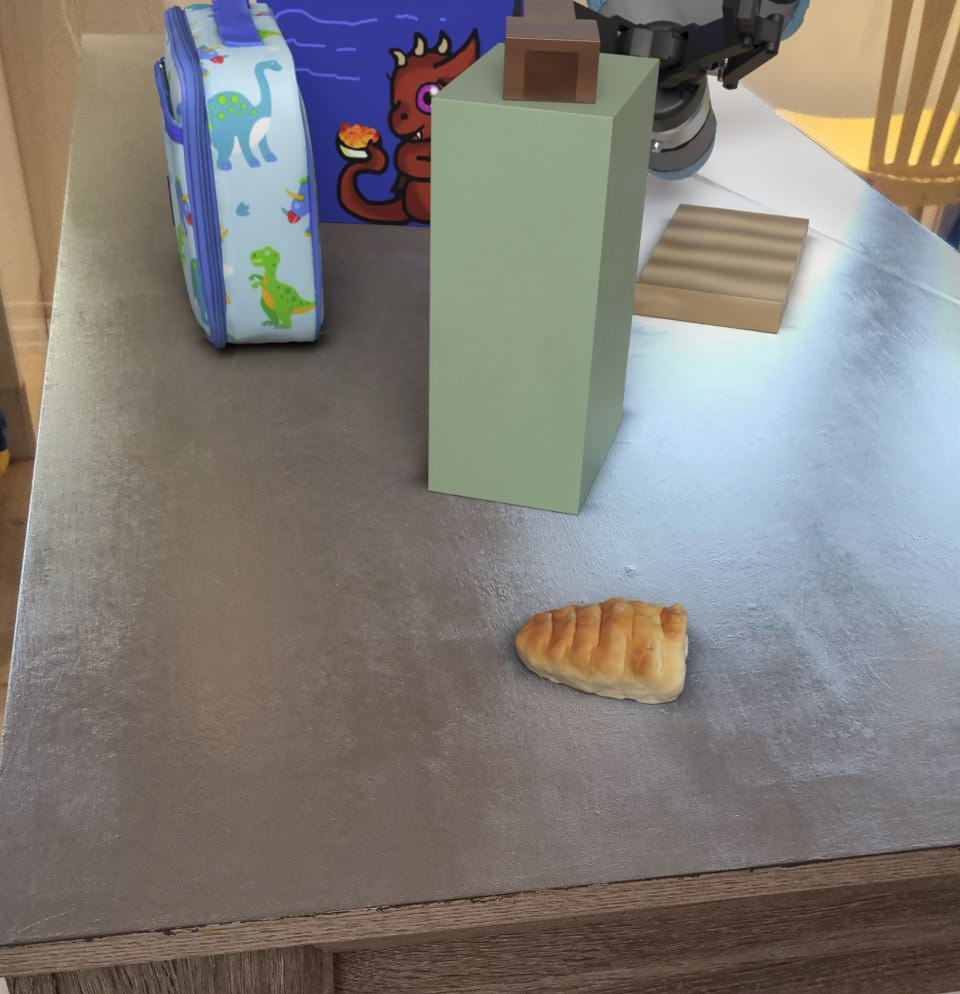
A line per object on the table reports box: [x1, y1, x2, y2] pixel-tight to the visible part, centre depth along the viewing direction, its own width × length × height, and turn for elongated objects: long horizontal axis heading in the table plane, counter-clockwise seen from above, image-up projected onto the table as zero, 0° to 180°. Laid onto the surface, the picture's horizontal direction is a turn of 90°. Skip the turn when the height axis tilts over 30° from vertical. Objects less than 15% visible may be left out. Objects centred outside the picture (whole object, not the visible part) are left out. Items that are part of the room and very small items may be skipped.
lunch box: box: [153, 0, 325, 349], centre depth 104 cm, size 26×11×21 cm, turn 12°
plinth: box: [427, 43, 660, 516], centre depth 85 cm, size 14×10×23 cm
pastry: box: [514, 596, 689, 705], centre depth 73 cm, size 9×7×4 cm
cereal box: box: [255, 0, 515, 228], centre depth 119 cm, size 22×6×30 cm, turn 88°
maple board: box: [633, 202, 810, 334], centre depth 119 cm, size 22×12×2 cm, turn 164°
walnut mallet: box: [503, 0, 600, 104], centre depth 81 cm, size 22×5×3 cm, turn 179°
